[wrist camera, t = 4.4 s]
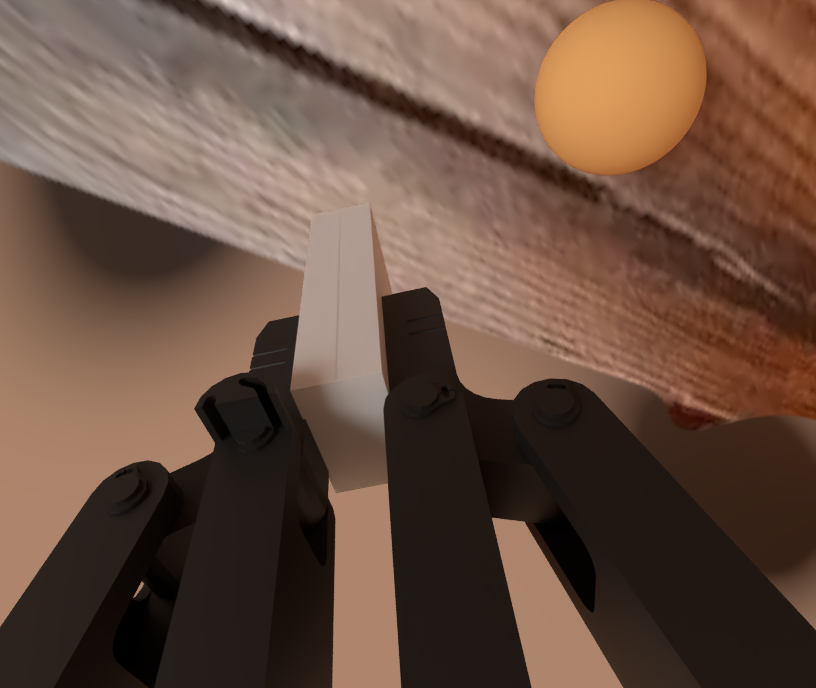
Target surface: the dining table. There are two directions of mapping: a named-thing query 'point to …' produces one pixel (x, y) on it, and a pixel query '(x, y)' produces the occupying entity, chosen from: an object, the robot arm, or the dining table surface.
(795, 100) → the dining table surface
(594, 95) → the ball
